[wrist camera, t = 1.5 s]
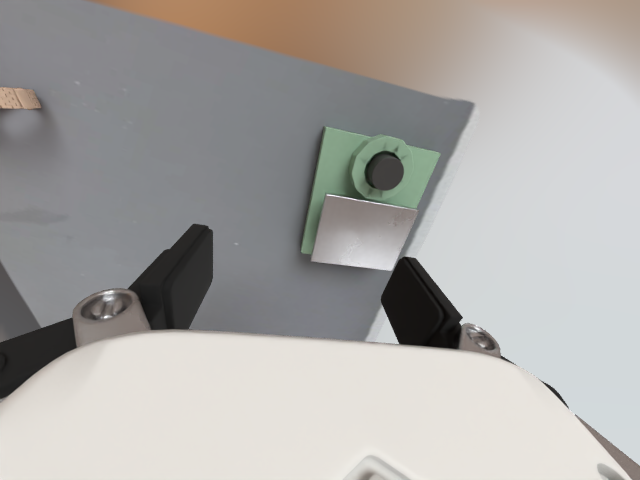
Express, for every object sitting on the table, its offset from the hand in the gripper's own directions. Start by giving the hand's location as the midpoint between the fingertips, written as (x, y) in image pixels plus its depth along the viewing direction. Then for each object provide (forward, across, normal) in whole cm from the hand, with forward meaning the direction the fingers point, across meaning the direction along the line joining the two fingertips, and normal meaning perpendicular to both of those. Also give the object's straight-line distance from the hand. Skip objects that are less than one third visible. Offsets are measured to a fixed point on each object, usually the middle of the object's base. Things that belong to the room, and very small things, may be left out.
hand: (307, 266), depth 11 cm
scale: (+15, -7, +1) cm, 17 cm away
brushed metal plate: (+12, -7, +4) cm, 15 cm away
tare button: (+13, -7, -3) cm, 15 cm away
